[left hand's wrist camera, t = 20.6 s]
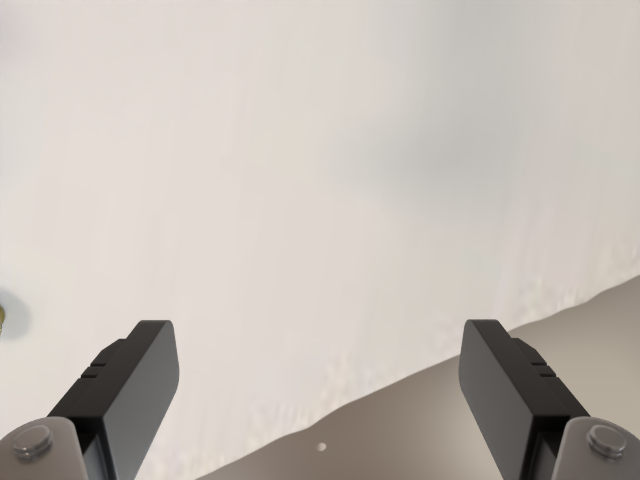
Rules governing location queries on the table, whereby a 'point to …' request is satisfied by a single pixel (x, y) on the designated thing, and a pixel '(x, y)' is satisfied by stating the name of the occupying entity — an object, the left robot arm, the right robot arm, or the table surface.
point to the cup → (1, 318)
